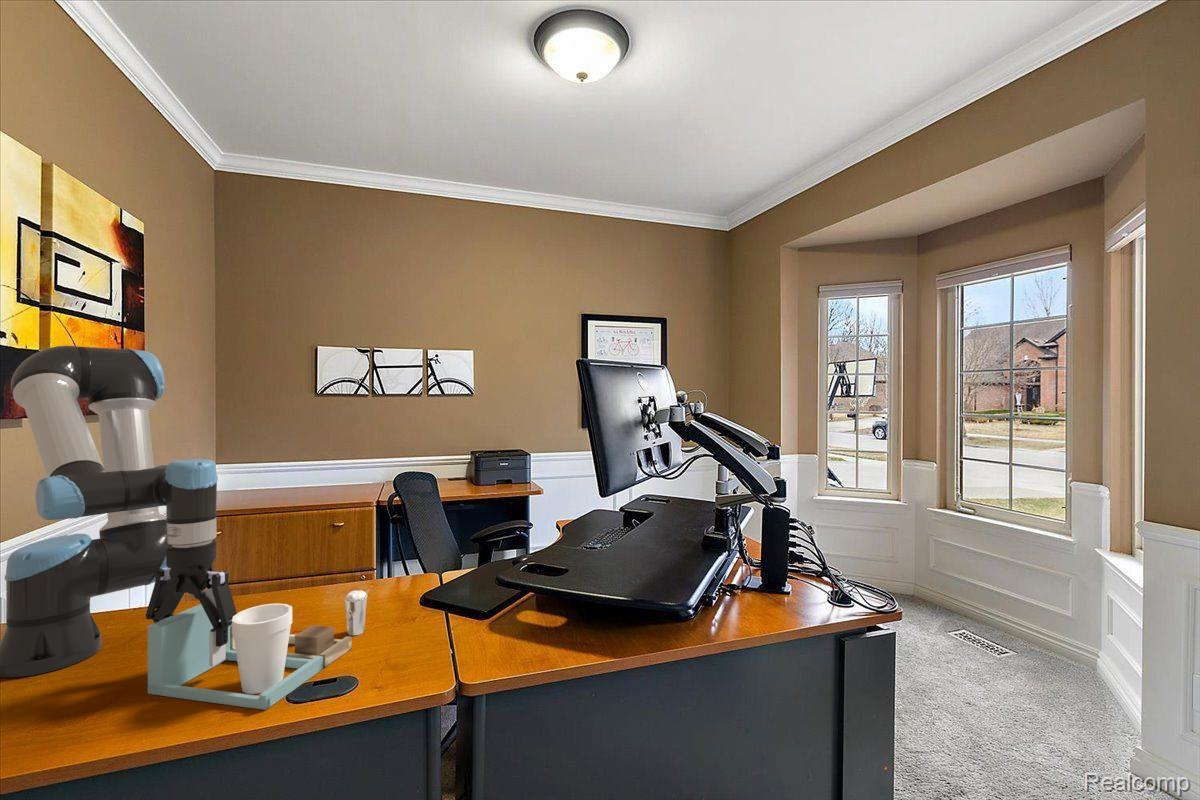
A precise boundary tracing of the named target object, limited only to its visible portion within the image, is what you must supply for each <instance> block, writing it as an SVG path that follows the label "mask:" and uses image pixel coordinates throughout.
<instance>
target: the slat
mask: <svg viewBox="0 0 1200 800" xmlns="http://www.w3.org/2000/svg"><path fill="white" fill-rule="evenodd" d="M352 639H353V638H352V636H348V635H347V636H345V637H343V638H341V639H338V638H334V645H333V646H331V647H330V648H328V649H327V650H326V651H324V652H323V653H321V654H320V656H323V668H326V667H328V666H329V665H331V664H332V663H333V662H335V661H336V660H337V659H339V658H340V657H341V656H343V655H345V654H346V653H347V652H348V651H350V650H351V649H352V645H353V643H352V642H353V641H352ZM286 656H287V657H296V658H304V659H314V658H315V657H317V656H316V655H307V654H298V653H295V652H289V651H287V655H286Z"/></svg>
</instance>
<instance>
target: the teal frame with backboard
mask: <svg viewBox="0 0 1200 800" xmlns="http://www.w3.org/2000/svg"><path fill="white" fill-rule="evenodd" d="M220 621H221V620H219V622H220ZM211 629H213V626H212V624H211V622H210V620H209V618H208V616H207V614H206V612H205V611H204V609H203V607H202V605H201V603H200V604H197V605H195V606H192V607H190V608H187V609H185V610H183V611H180V612H178V613H176V614H173V616H170V617H168V618H165V619H163V620H161V621H158V622H156V623H154V622H153V623H151V624H149V625H147V694H148V695H155V696H162V697H169V698H177V699H184V700H191V701H198V702H205V703H206V702H207V703H211V704H212V703H213V704H220V705H228V706H235V707H241V708H249V709H254V710H256V709H257V710H263V711H267V710H268V709H270V708H271V707H272V706H274V704H277V703H278V702H279V701H280V700H282V699H283V698H285V697H286V696H288V695H289V694H290V693H292V692H293V691H294V690H296V689H297V688H298V687H300V686H301V685H303V684H304V683H306V682H307V681H309V680H310V679H311V678H312V677H314V676H316V675H317V674H318V673H319V672H321V671H322V670H324V667H323V656H317V657H315V658H314V659H304V658H296V657H287V656H286V662H285V668H290V669H296V670H295V671H293V672H292V673H290V674H289V675H287V676H286V677H283V679H282V680H281V681H280V682H278V683H277V684H275V685H274V686H272V687H271V688H269V689H268V690H266V691H265V692H263V693H259V695H255V694H247V693H239V692H231V691H223V690H214V689H208V688H200V687H194V686H193V687H192V686H185V685H184V684H186V683H188V682H189V681H191V680H193V679H195V678H196V677H198V676H199V675H202V674H203V673H205V672H207V671H209V670H211V669H213V668H215V667H216V666H218V665H220V664H221V663H224V662H225V661H231V662H232V661H233V662H238V661H237V655H236V651H235V650H230V626H228V642H227V644H226V659H225V660H223V661H221V662H219V663H218V664H216V665H214V666H209V630H211Z"/></svg>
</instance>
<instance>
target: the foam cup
mask: <svg viewBox="0 0 1200 800" xmlns="http://www.w3.org/2000/svg"><path fill="white" fill-rule="evenodd" d="M292 624H293V606H292V605H289V604H287V603H277V602H275V603H268V604H267V603H266V604H261V605H256V606H253V607H251V606H250V607H249V608H246V609H243V610H241V611H239V612H237V614H236V615H234V616H233V618H232V634H233V636H234V642H235V648H236V655H237V661H236V662H237V668H238V673H239V678H240V687H241V688H242V689H241V691H242V692H244V694H247V695H255V694H262V693H263V692H265V691H266V690H268V689H269V688H271V687H272V686H274V685H275V684H277V683H278V682H280V681H281V680H283V679H284V675H285V668H286V667H285V662H286V655H287V652H288V646H289V644H288V641H289V635H290V634H291V626H292Z"/></svg>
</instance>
